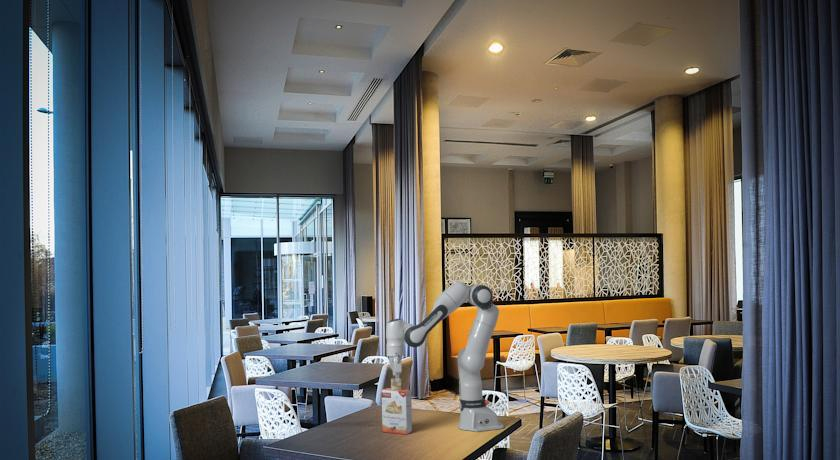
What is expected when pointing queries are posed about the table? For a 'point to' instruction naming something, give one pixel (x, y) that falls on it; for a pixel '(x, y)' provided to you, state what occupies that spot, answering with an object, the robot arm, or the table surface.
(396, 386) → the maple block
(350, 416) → the table surface
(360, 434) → the table surface
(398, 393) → the cracker box
